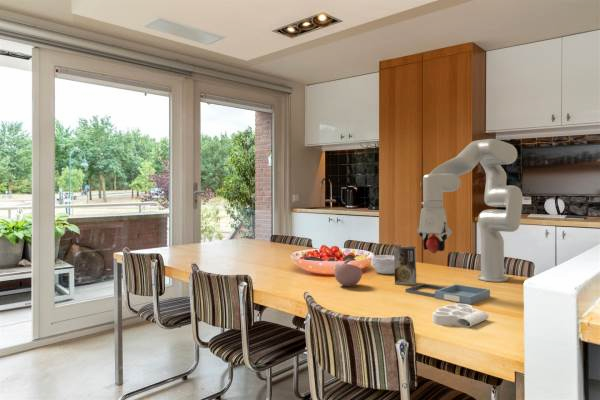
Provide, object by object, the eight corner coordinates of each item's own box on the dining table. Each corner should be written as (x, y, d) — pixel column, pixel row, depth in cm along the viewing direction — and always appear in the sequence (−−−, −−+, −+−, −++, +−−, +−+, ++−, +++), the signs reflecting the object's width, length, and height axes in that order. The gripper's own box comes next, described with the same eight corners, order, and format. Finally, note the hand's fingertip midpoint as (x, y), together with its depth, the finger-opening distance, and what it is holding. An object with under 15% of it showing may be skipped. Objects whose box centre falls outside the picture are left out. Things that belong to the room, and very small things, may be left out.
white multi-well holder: (465, 332, 129) (421, 321, 140) (493, 319, 140) (451, 310, 151) (464, 321, 129) (421, 311, 140) (493, 309, 140) (451, 301, 151)
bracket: (423, 286, 187) (423, 283, 187) (451, 291, 178) (451, 288, 178) (405, 291, 178) (405, 289, 178) (434, 297, 168) (433, 294, 168)
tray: (455, 291, 178) (455, 284, 178) (489, 296, 168) (489, 289, 167) (434, 298, 167) (434, 291, 167) (469, 305, 156) (469, 297, 156)
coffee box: (416, 282, 196) (416, 246, 195) (415, 285, 189) (415, 248, 189) (395, 281, 199) (395, 245, 198) (394, 284, 192) (393, 247, 192)
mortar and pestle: (365, 284, 194) (365, 258, 193) (357, 290, 183) (357, 262, 183) (340, 282, 199) (339, 257, 198) (330, 287, 188) (330, 261, 188)
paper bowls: (406, 271, 222) (406, 255, 222) (396, 276, 209) (395, 260, 209) (378, 268, 230) (378, 253, 230) (366, 273, 217) (366, 257, 217)
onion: (424, 252, 178) (423, 233, 178) (438, 252, 179) (437, 232, 179) (429, 254, 173) (429, 234, 172) (443, 254, 173) (443, 234, 173)
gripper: (409, 205, 179) (410, 249, 180) (448, 205, 166) (448, 253, 167) (419, 204, 184) (420, 247, 185) (458, 204, 171) (458, 250, 172)
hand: (433, 249), depth 176 cm, fingers closed on onion, 5 cm apart
